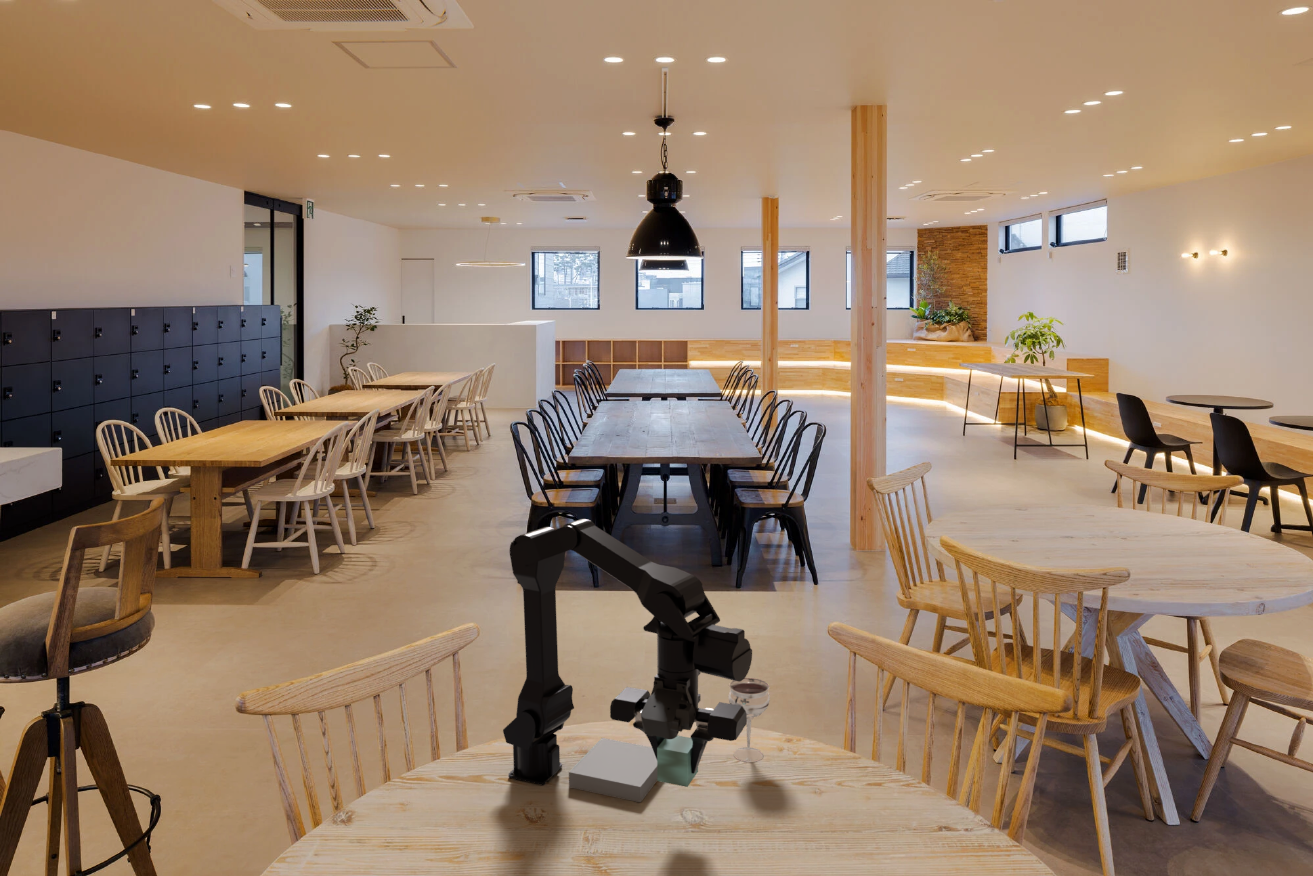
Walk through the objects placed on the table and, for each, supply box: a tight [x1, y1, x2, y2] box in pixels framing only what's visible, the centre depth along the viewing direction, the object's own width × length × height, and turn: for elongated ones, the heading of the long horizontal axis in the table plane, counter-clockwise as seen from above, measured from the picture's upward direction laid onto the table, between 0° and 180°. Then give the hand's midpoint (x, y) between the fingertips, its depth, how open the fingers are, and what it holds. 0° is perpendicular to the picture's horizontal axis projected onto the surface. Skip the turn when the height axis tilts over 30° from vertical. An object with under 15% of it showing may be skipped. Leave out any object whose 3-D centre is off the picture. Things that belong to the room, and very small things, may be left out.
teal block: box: [657, 735, 699, 788], centre depth 129 cm, size 4×4×5 cm
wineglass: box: [727, 677, 771, 763], centre depth 149 cm, size 7×7×12 cm
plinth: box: [568, 737, 658, 803], centre depth 143 cm, size 12×12×2 cm
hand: (677, 769), depth 129 cm, fingers closed on teal block, 4 cm apart
